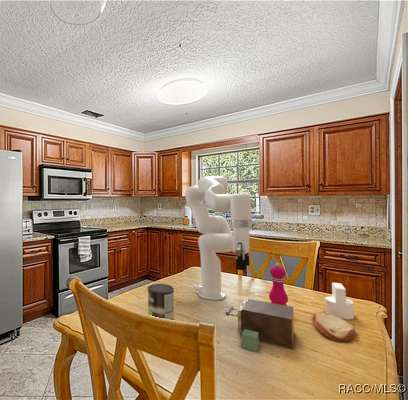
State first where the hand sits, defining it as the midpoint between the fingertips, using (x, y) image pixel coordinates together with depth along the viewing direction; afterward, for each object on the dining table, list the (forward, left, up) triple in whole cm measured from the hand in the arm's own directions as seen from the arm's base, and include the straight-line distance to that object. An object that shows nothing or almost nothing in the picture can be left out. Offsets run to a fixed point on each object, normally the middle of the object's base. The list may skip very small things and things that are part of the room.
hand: (243, 267), depth 108 cm
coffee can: (-27, -19, -22) cm, 39 cm away
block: (+5, -19, -22) cm, 29 cm away
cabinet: (+9, -7, -22) cm, 24 cm away
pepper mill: (+10, +23, -22) cm, 33 cm away
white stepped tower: (+31, +28, -22) cm, 47 cm away
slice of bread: (+27, +11, -22) cm, 36 cm away
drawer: (+4, -7, -21) cm, 22 cm away
